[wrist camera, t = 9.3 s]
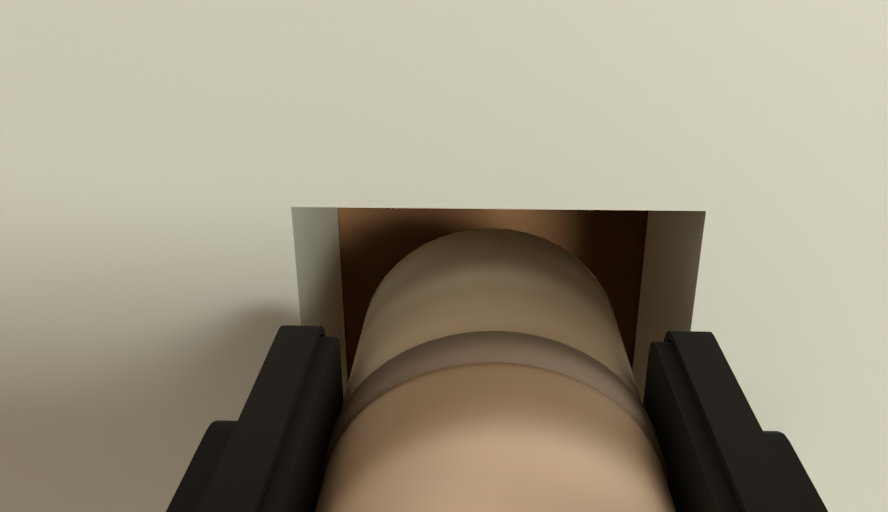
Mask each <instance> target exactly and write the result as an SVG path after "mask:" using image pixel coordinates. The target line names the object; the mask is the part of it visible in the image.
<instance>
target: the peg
mask: <svg viewBox="0 0 888 512" xmlns="http://www.w3.org/2000/svg"><path fill="white" fill-rule="evenodd" d="M667 480H668V470H667V467H666V463H665V460H664V457H663V454H662V450H661V447H660V444H659V441H658V438H657V435H656V432H655V429H654V426H653V424H652V422H651V420H650V418H649V415H648V413H647V411H646V409H645V408H644V406H643V405H642V402H641V398H640V395H639V392H638V389H637V386H636V382H635V379H634V376H633V373H632V370H631V367H630V363H629V360H628V357H627V354H626V351H625V347H624V344H623V341H622V338H621V335H620V331H619V328H618V325H617V322H616V319H615V315H614V312H613V309H612V306H611V303H610V301H609V299H608V297H607V295H606V293H605V290H604V289H603V287H602V286H601V284H600V283H599V281H598V280H597V278H596V277H595V276H594V275H593V274H592V272H591V271H590V270H589V269H588V268H587V267H586V266H585V265H584V264H583V263H582V262H581V261H579V260H578V259H577V258H576V257H575V256H574V255H572V254H571V253H569V252H568V251H566V250H565V249H563V248H561V247H560V246H558V245H556V244H554V243H552V242H550V241H548V240H546V239H543V238H541V237H538V236H535V235H531V234H528V233H525V232H519V231H514V230H509V229H495V228H487V229H472V230H466V231H460V232H456V233H452V234H449V235H446V236H442V237H439V238H437V239H435V240H433V241H430V242H428V243H426V244H424V245H422V246H421V247H419V248H417V249H416V250H414V251H412V252H411V253H409V254H408V255H407V256H406V257H404V258H403V259H402V260H401V261H399V262H398V263H397V264H396V265H395V266H394V267H393V268H392V269H391V270H390V272H389V273H388V274H387V275H386V276H385V277H384V279H383V280H382V282H381V283H380V285H379V286H378V287H377V289H376V291H375V293H374V295H373V297H372V299H371V301H370V304H369V307H368V310H367V313H366V316H365V320H364V324H363V328H362V331H361V335H360V339H359V343H358V347H357V351H356V355H355V358H354V362H353V366H352V370H351V374H350V378H349V381H348V385H347V389H346V393H345V397H344V401H343V405H342V408H341V411H340V413H339V415H338V417H337V419H336V421H335V423H334V426H333V429H332V432H331V436H330V439H329V443H328V447H327V451H326V454H325V458H324V462H323V482H322V485H321V489H320V493H319V497H318V501H317V505H316V508H315V512H676V510H675V507H674V504H673V500H672V497H671V494H670V491H669V488H668V484H667Z"/></svg>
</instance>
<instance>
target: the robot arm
mask: <svg viewBox="0 0 888 512" xmlns="http://www.w3.org/2000/svg"><path fill="white" fill-rule="evenodd" d="M343 401H344V400H343V384H342V368H341V352H340V342H339V338H338V337H326V335H325V330H324V328H323V326H293V325H282V326H280V328H279V329H278V332H277V334H276V336H275V338H274V341H273V343H272V345H271V347H270V350H269V352H268V354H267V356H266V358H265V361H264V363H263V365H262V367H261V370H260V372H259V374H258V376H257V379H256V381H255V383H254V385H253V387H252V390H251V392H250V394H249V396H248V399H247V401H246V403H245V405H244V408H243V410H242V412H241V414H240V417H239V419H238V421H224V420H216V421H214V422H212V423H211V424H210V425H209V427H208V428H207V430H206V432H205V434H204V436H203V438H202V440H201V442H200V444H199V446H198V448H197V450H196V452H195V454H194V456H193V458H192V460H191V462H190V464H189V466H188V468H187V470H186V472H185V474H184V476H183V478H182V480H181V482H180V484H179V486H178V488H177V490H176V492H175V494H174V496H173V498H172V500H171V502H170V504H169V506H168V508H167V510H166V512H315V508H316V505H317V501H318V497H319V493H320V489H321V485H322V482H323V462H324V458H325V454H326V451H327V447H328V443H329V439H330V436H331V432H332V429H333V426H334V423H335V421H336V419H337V417H338V415H339V413H340V411H341V408H342V405H343ZM643 406H644V408H645V409H646V411H647V413H648V415H649V418H650V420H651V422H652V424H653V426H654V429H655V432H656V435H657V438H658V441H659V444H660V447H661V450H662V454H663V457H664V460H665V463H666V467H667V470H668V480H667V484H668V488H669V491H670V494H671V497H672V500H673V504H674V507H675V510H676V512H828V510H827V508H826V507H825V505H824V503H823V501H822V499H821V497H820V496H819V494H818V492H817V490H816V488H815V487H814V485H813V483H812V481H811V479H810V477H809V476H808V474H807V472H806V470H805V468H804V467H803V465H802V463H801V461H800V459H799V457H798V456H797V454H796V452H795V450H794V448H793V446H792V445H791V443H790V441H789V440H788V438H787V437H786V436H785V434H784V433H781V432H779V431H763V430H762V428H761V426H760V424H759V422H758V420H757V418H756V416H755V414H754V413H753V411H752V409H751V407H750V405H749V403H748V401H747V399H746V397H745V395H744V393H743V391H742V389H741V387H740V385H739V383H738V381H737V379H736V377H735V375H734V373H733V371H732V370H731V368H730V366H729V364H728V362H727V360H726V358H725V356H724V354H723V352H722V350H721V348H720V346H719V344H718V342H717V340H716V338H715V336H714V335H713V333H712V332H703V331H668V332H667V333H666V335H665V338H664V342H653V341H652V342H651V344H650V347H649V353H648V363H647V372H646V381H645V390H644V400H643Z"/></svg>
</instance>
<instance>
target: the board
mask: <svg viewBox="0 0 888 512" xmlns="http://www.w3.org/2000/svg"><path fill="white" fill-rule="evenodd" d="M337 207H342V208H446V209H549V210H648V220H647V230H646V240H645V250H644V260H643V270H642V280H641V290H640V300H639V310H638V320H637V330H636V340H635V350H634V360H633V370H632V373H633V376H634V379H635V382H636V386H637V389H638V392H639V395H640V398H641V402H642V405H643V400H644V390H645V381H646V372H647V363H648V353H649V347H650V344H651V342H652V341H653V342H664V338H665V335H666V333H667V332H668V331H703V332H712V333H713V335H714V336H715V338H716V340H717V342H718V344H719V346H720V348H721V350H722V352H723V354H724V356H725V358H726V360H727V362H728V364H729V366H730V368H731V370H732V371H733V373H734V375H735V377H736V379H737V381H738V383H739V385H740V387H741V389H742V391H743V393H744V395H745V397H746V399H747V401H748V403H749V405H750V407H751V409H752V411H753V413H754V414H755V416H756V418H757V420H758V422H759V424H760V426H761V428H762V430H763V431H779V432H781V433H784V434H785V436H786V437H787V438H788V440H789V441H790V443H791V445H792V446H793V448H794V450H795V452H796V454H797V456H798V457H799V459H800V461H801V463H802V465H803V467H804V468H805V470H806V472H807V474H808V476H809V477H810V479H811V481H812V483H813V485H814V487H815V488H816V490H817V492H818V494H819V496H820V497H821V499H822V501H823V503H824V505H825V507H826V508H827V510H828V512H888V0H0V512H166V510H167V508H168V506H169V504H170V502H171V500H172V498H173V496H174V494H175V492H176V490H177V488H178V486H179V484H180V482H181V480H182V478H183V476H184V474H185V472H186V470H187V468H188V466H189V464H190V462H191V460H192V458H193V456H194V454H195V452H196V450H197V448H198V446H199V444H200V442H201V440H202V438H203V436H204V434H205V432H206V430H207V428H208V427H209V425H210V424H211V423H212V422H214V421H216V420H224V421H238V419H239V417H240V414H241V412H242V410H243V408H244V405H245V403H246V401H247V399H248V396H249V394H250V392H251V390H252V387H253V385H254V383H255V381H256V379H257V376H258V374H259V372H260V370H261V367H262V365H263V363H264V361H265V358H266V356H267V354H268V352H269V350H270V347H271V345H272V343H273V341H274V338H275V336H276V334H277V332H278V329H279V328H280V326H282V325H293V326H323V328H324V330H325V335H326V337H338V338H339V342H340V352H341V368H342V384H343V400H344V397H345V393H346V389H347V385H348V378H347V361H346V345H345V328H344V311H343V295H342V278H341V261H340V244H339V228H338V211H337Z"/></svg>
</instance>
